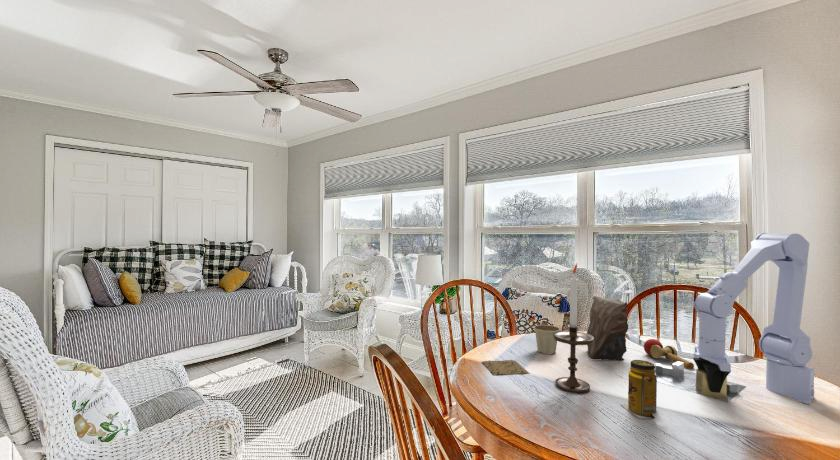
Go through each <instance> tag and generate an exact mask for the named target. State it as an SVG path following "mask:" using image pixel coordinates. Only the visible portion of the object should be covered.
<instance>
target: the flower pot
mask: <svg viewBox="0 0 840 460" xmlns="http://www.w3.org/2000/svg"><path fill="white" fill-rule="evenodd" d="M532 327H533V329H534V334H535V340H536V347H537V352H538V353H542V354H544V353H545V355H553V354H555V353H556V351H557V345H558V341H556V340H555V339H553V333H554V332H556V331H562V329H561V328H560V327H558V326H555V325H550V324H537V325H533V326H532Z"/></svg>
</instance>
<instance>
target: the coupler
mask: <svg viewBox="0 0 840 460" xmlns="http://www.w3.org/2000/svg"><path fill="white" fill-rule="evenodd" d="M695 371H696V372H695V373H696V390H698V391H699V392H700V393H701V394H702V395H701V396H704V395H713V396H724V397H726V394H727V379H728V376H727V377H726V379H725V380H724V383H723V386H722V389H721V391H720V393H716V392H711V391H710V389H709V383H708V376H707V373H706V370H705V369H698V368H696V370H695Z"/></svg>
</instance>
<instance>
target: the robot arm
mask: <svg viewBox="0 0 840 460" xmlns="http://www.w3.org/2000/svg"><path fill="white" fill-rule="evenodd" d="M809 250H810V242H809V241H808V240H807V239H806V238H805V237H804V236H803V235H802V234H800V233H797V232H796V233H768V232H762V233H759V234H758V235H756V236H755V238H754V239H753V240H752V241H750V249H749V251H747V253H746V254H745V256H744V257H743V258H742V259H741V260H740V262H739V263H738V265H737V266H736V267H735V269H734V270H733V271H731V272H725V273H723V274H722V273H721V275H720V276H719V279H717V281H716V282H715V283H714V284H713V285H712V286H711V287H710V288H709V289H708V290H707V291H706V292H703V293H700V294H699V295H697V297H696V298H695V301H694V302H693V307H694V309H695V311H696V312H697V317H698V346H694V352H693V356H695V357H693V359H692V360H693V362H694V363H695V366H696V368H697V369H705V370H706V373H707V376H708V383H709V389H710V391H711V392H716V393H720V391H721V389H722V386H723V383H724V380H725V379H726V377H727V378H728V376H729V375H730V374H731V372H732V366H731V363H730V362H729V361H728V359H727V357H726V327H727V326H726V324H727V323H726V322H727V320H726V317H727V316H729V315H731V313H732V312H733V306H734V304H735V300H736V299H737V298H738V297H739V296H740V295H741V294H742V293H743V292H744V290H745V289H747V287H748V283H747V280H749V278H750V277H752V275H753V274H755V273H756V272H757V271H758V270H759V269H760V268H761V267H762V266H763V265H764V264H765V263H767V262H769V261H770V262H773V263H774V264H775V265H776V267H778V268H779V269H778V277H777V278H778V279H777V285H776V286H777V288H776V293H775V294H776V296H775V302H774V303H775V305H774V313H773V319H772V324H769V325H768V326H765V327H764V328H763V331H762V335H761V337H760V338H759V341H758V348H759V350H760V352H762V353H763V357H764V358H766V366H765V367H766V369H765V370H766V371H765V372H766V373H765V374H766V375H765V377H766V378H765V388H766V390H768V391H769V392H771V393H774V394H778V395H781V396H787V397H790V398H793V399H795V400H796V401H798V402H800V403H803V404H806V405H810V403H811V402H812V401H813V399H814V398H815V370H814V368H813V367H811V366H807V364H808V363H809V362H810V361H811V359H812V356H813V351H812V347H811V337H810V336H809V335H807V334H806V333H805V332H804V331H803V330H802V329H801V321H802V314H803V305H804V297H805V289H806V280H807V273H808V272H807V271H808V259H809V252H810V251H809Z"/></svg>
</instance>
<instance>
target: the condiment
mask: <svg viewBox="0 0 840 460" xmlns="http://www.w3.org/2000/svg"><path fill="white" fill-rule="evenodd" d="M629 369H630V370H629V371H628V384H627V385H628V386H627V387H628V388H627V390H628V391H627V394H628V395H627V397H628V398H627V399H628V401H627V402H628V403H627V404H620V406H621V407H623V409H625V410H627V411H628V412H629V413H631V414H632V415H634V416H635V417H636V418H638V419H643V420H644V419H646V420H648V419H656V417H655V416H654V414H655V413H656V412H657V397H658V396H657V391H658V390H657V387H658V385H657V384H658V382H657V377H656V375H655V363H653V362H650V361H648V360H643V359H633V360H631V361H630V368H629Z"/></svg>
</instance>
